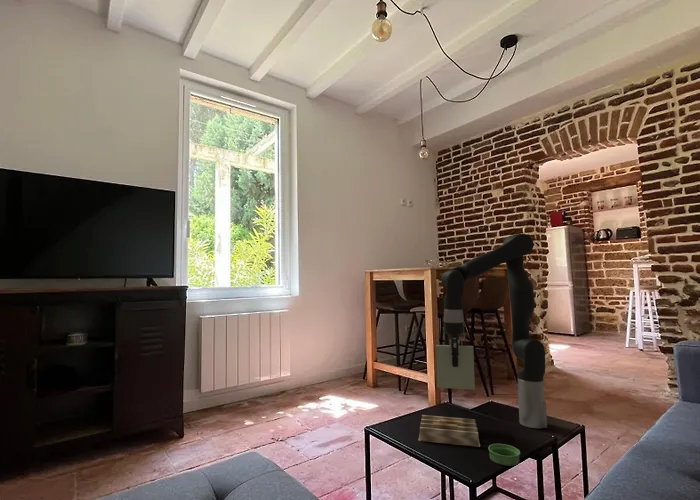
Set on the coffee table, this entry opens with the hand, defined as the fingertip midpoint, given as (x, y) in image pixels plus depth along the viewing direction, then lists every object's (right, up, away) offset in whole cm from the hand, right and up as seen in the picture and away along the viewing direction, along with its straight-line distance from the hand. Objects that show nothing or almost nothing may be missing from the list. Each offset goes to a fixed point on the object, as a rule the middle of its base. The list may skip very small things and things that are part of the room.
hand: (455, 365), depth 146 cm
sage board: (0, -8, -1) cm, 8 cm away
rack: (-6, -21, -15) cm, 27 cm away
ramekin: (+6, -20, -33) cm, 39 cm away
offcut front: (-8, -20, -18) cm, 28 cm away
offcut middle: (-5, -20, -15) cm, 25 cm away
